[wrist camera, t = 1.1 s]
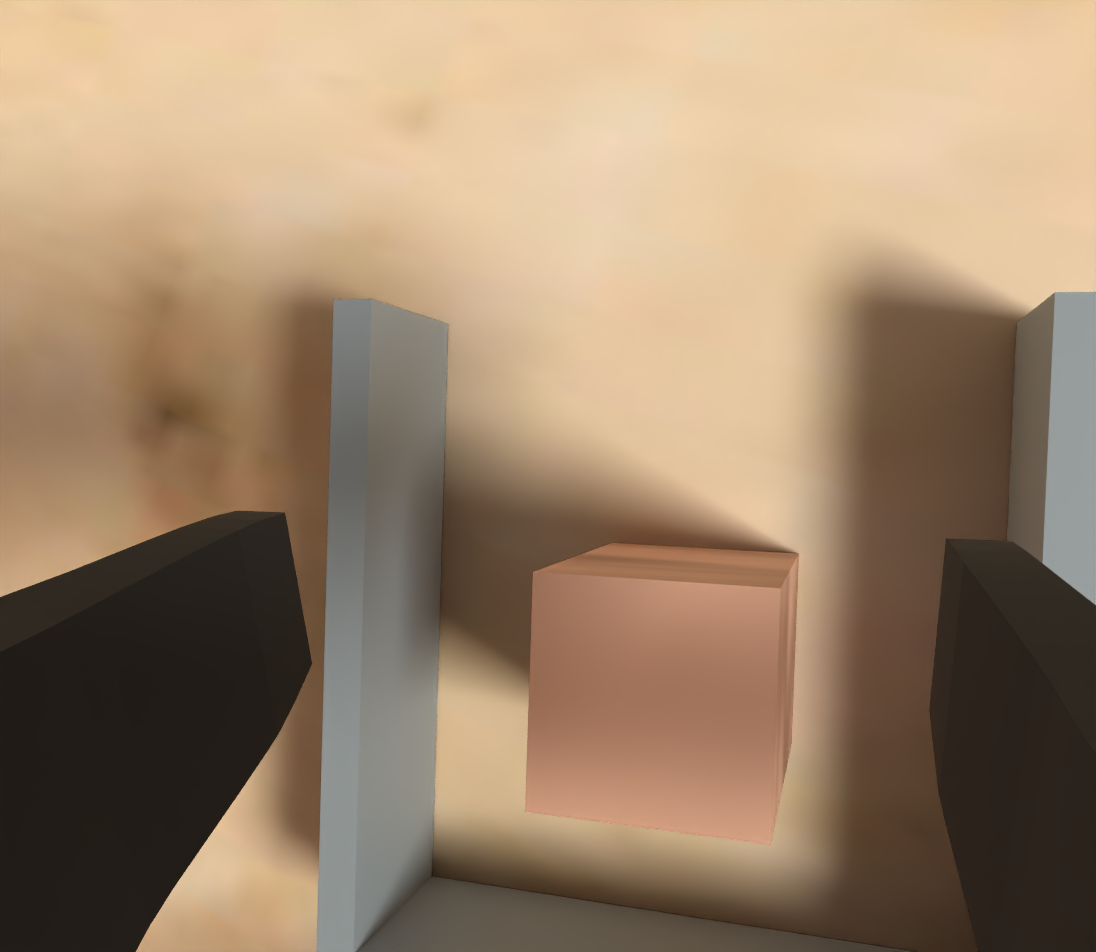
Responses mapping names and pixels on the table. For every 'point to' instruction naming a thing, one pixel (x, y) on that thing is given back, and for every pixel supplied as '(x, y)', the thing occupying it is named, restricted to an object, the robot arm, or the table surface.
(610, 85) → the table surface
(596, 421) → the table surface
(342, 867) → the open side box
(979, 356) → the table surface
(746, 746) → the block
